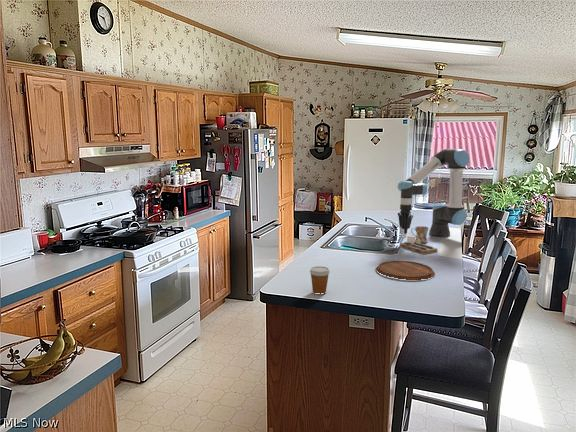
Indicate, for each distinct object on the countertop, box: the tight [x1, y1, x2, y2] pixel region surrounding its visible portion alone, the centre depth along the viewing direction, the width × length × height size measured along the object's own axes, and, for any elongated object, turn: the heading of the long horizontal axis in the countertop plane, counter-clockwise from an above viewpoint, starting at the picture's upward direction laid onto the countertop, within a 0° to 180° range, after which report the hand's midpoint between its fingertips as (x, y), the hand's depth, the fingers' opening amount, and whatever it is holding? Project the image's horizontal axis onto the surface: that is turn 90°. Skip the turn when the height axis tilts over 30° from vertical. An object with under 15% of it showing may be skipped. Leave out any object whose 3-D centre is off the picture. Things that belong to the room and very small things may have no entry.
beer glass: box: [309, 265, 331, 294], centre depth 219 cm, size 10×10×12 cm
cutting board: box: [375, 260, 436, 280], centre depth 254 cm, size 32×32×2 cm
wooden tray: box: [399, 241, 438, 255], centre depth 302 cm, size 22×12×3 cm, turn 29°
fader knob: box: [406, 235, 416, 244], centre depth 308 cm, size 3×4×5 cm
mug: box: [411, 225, 430, 244], centre depth 321 cm, size 12×9×11 cm
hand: (403, 237), depth 313 cm, fingers closed
